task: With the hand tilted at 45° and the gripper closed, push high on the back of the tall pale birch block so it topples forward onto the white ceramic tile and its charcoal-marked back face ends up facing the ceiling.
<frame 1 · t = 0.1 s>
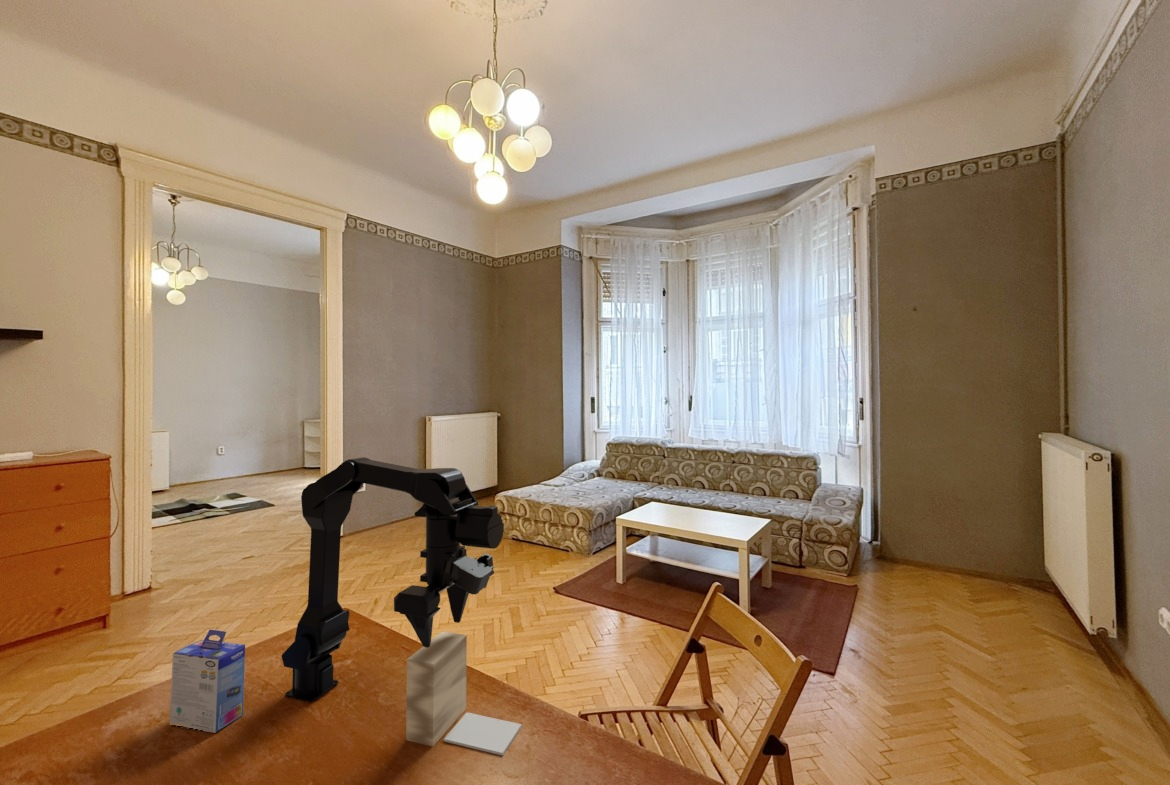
hand: (442, 633, 84), 15 cm above the table, tool pointing down, fingers open, 9 cm apart
white ceramic tile: (483, 733, 80), on the table
birch block: (437, 723, 83), on the table
ink cartridge box: (208, 721, 83), on the table
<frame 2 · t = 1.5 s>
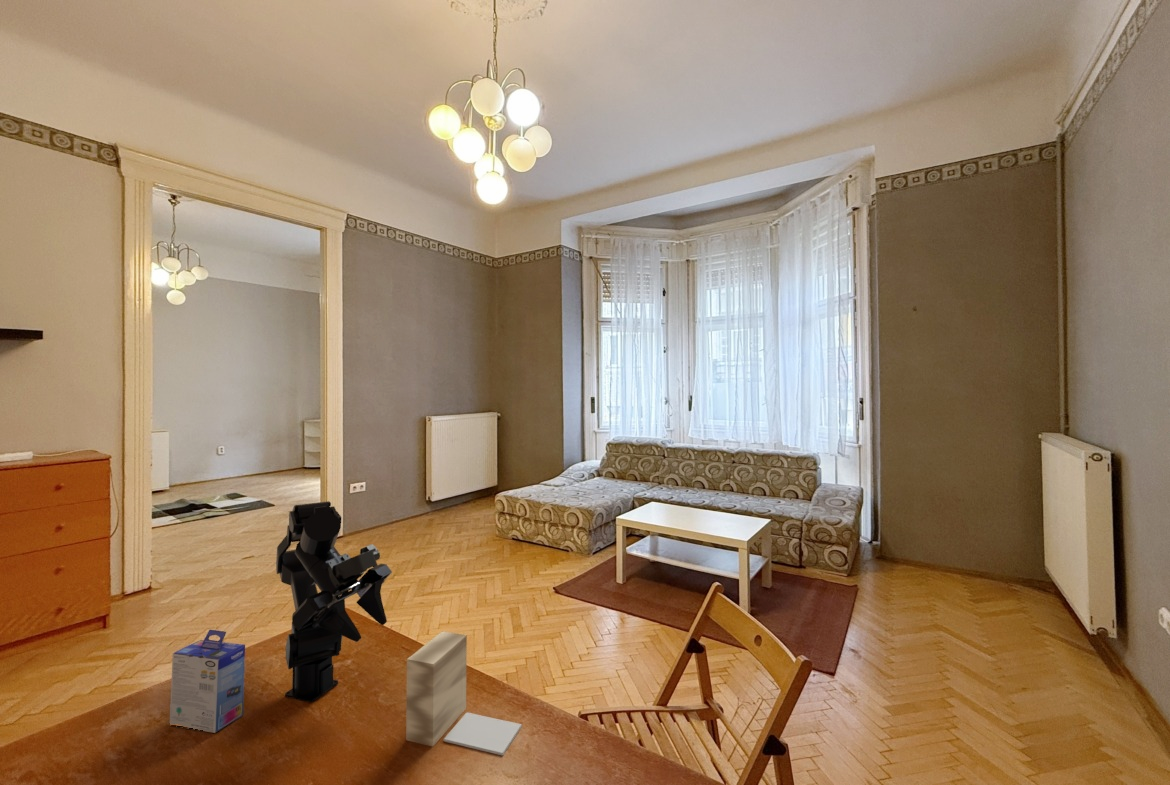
hand: (372, 631, 87), 14 cm above the table, tool tilted 45°, fingers open, 6 cm apart
nothing on the table moved.
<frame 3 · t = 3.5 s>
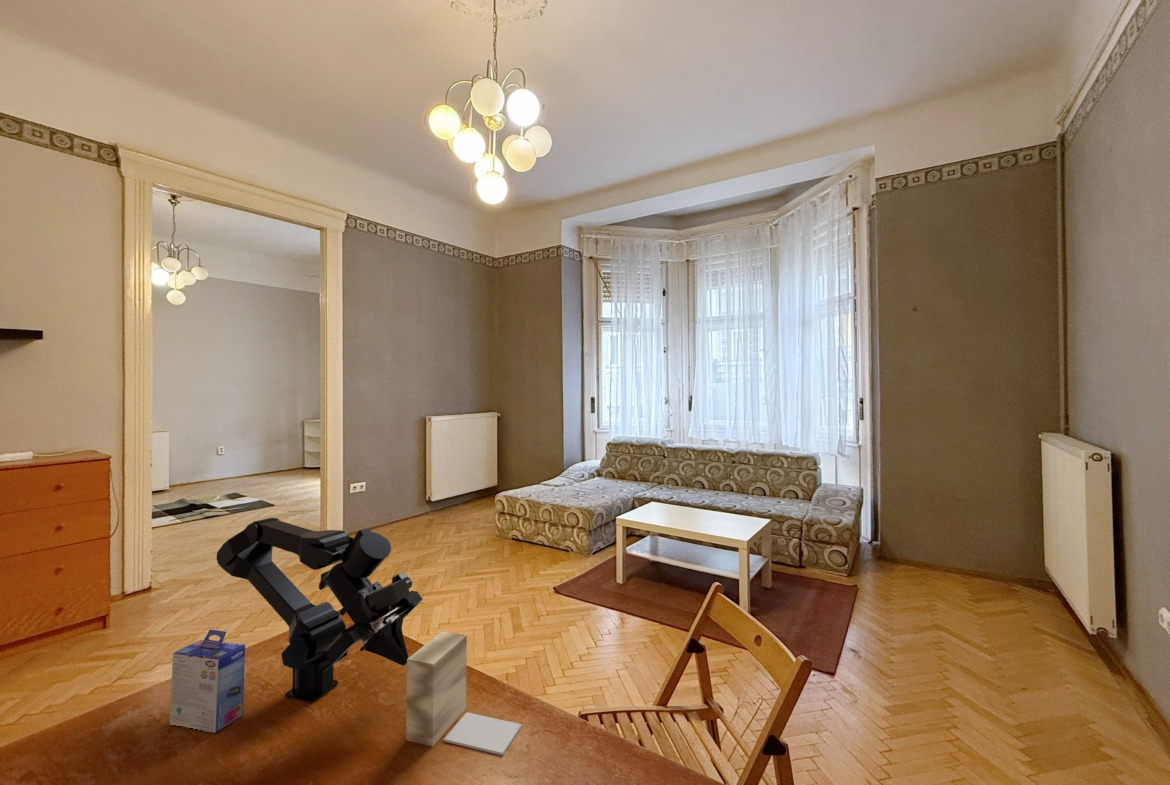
hand: (406, 663, 85), 9 cm above the table, tool tilted 45°, fingers closed
nothing on the table moved.
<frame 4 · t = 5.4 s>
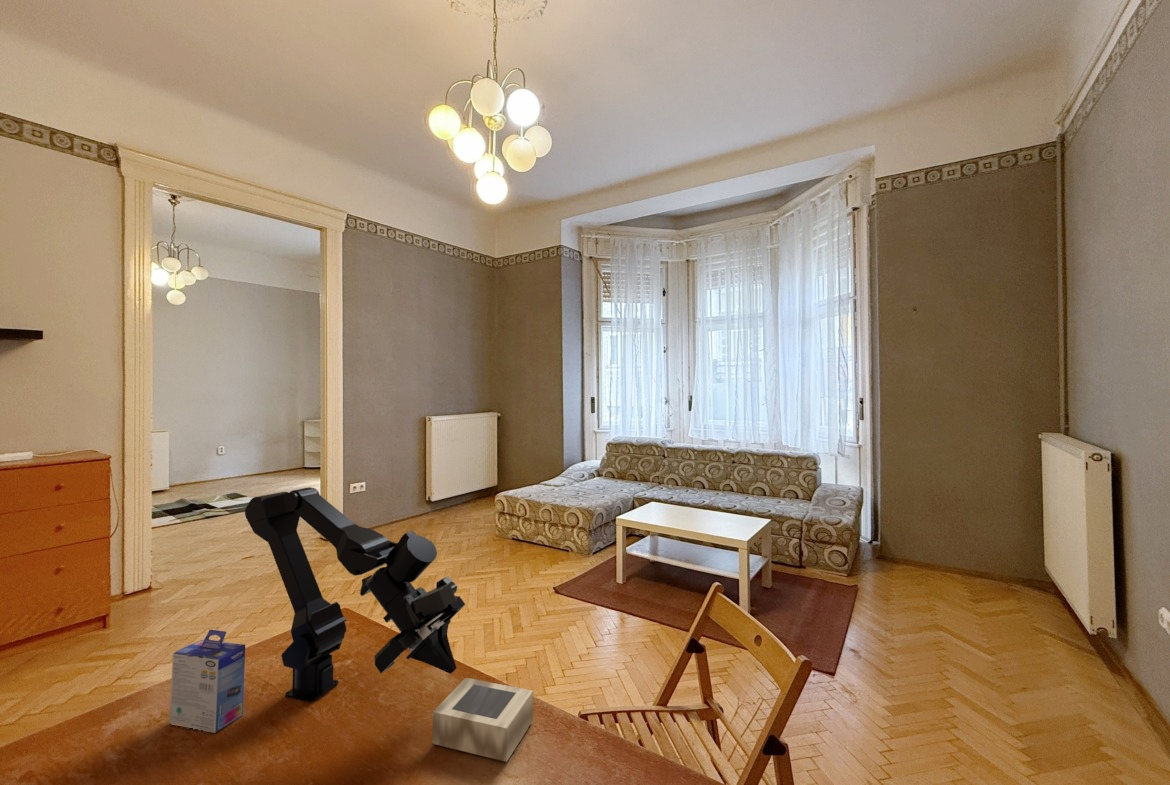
hand: (453, 671, 82), 9 cm above the table, tool tilted 45°, fingers closed
birch block: (450, 708, 82), point 3 cm above the table, tilted 90°, touching white ceramic tile
everything else where it was.
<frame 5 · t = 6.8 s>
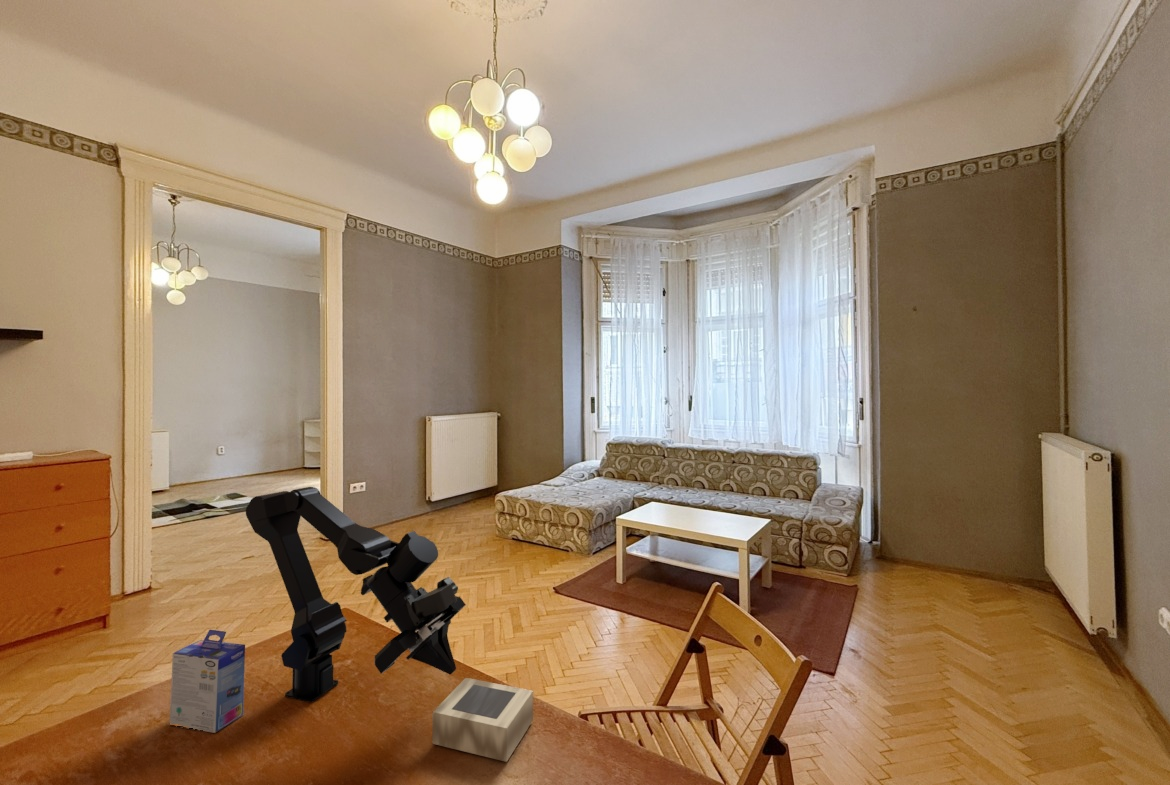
hand: (453, 671, 82), 9 cm above the table, tool tilted 45°, fingers closed
nothing on the table moved.
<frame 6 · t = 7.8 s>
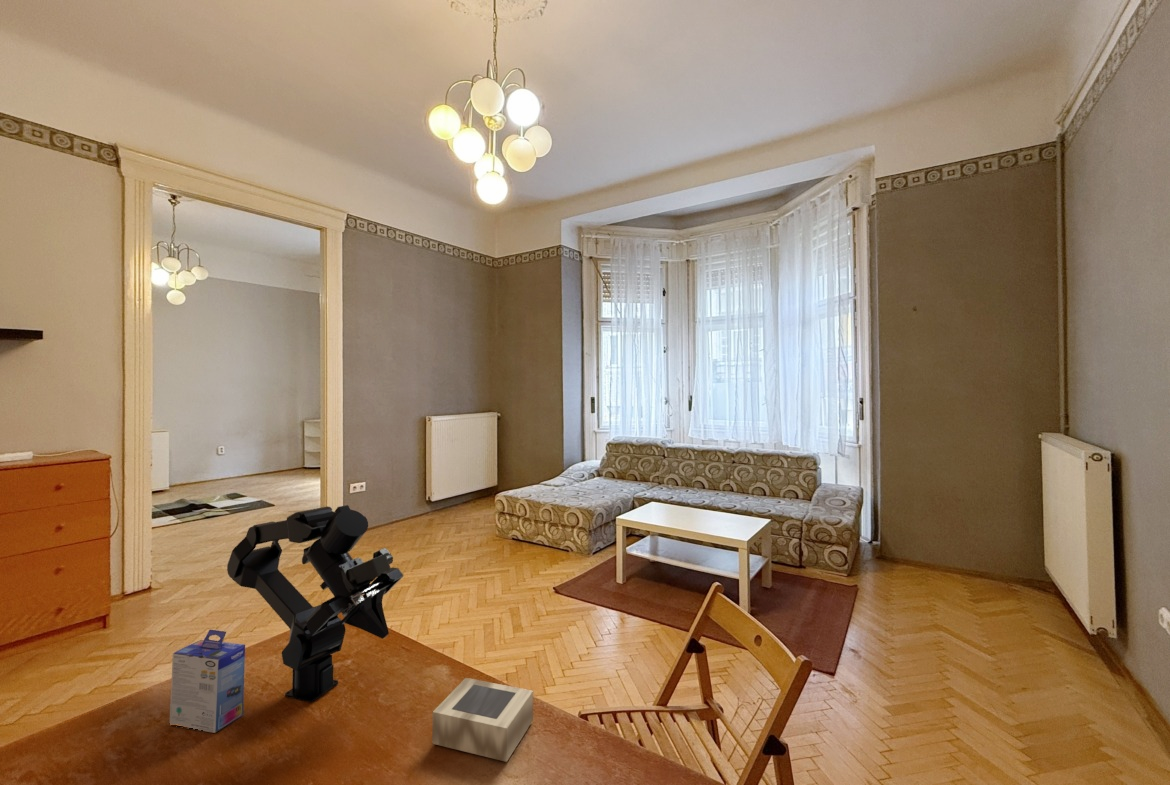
hand: (386, 636, 86), 13 cm above the table, tool tilted 45°, fingers closed
nothing on the table moved.
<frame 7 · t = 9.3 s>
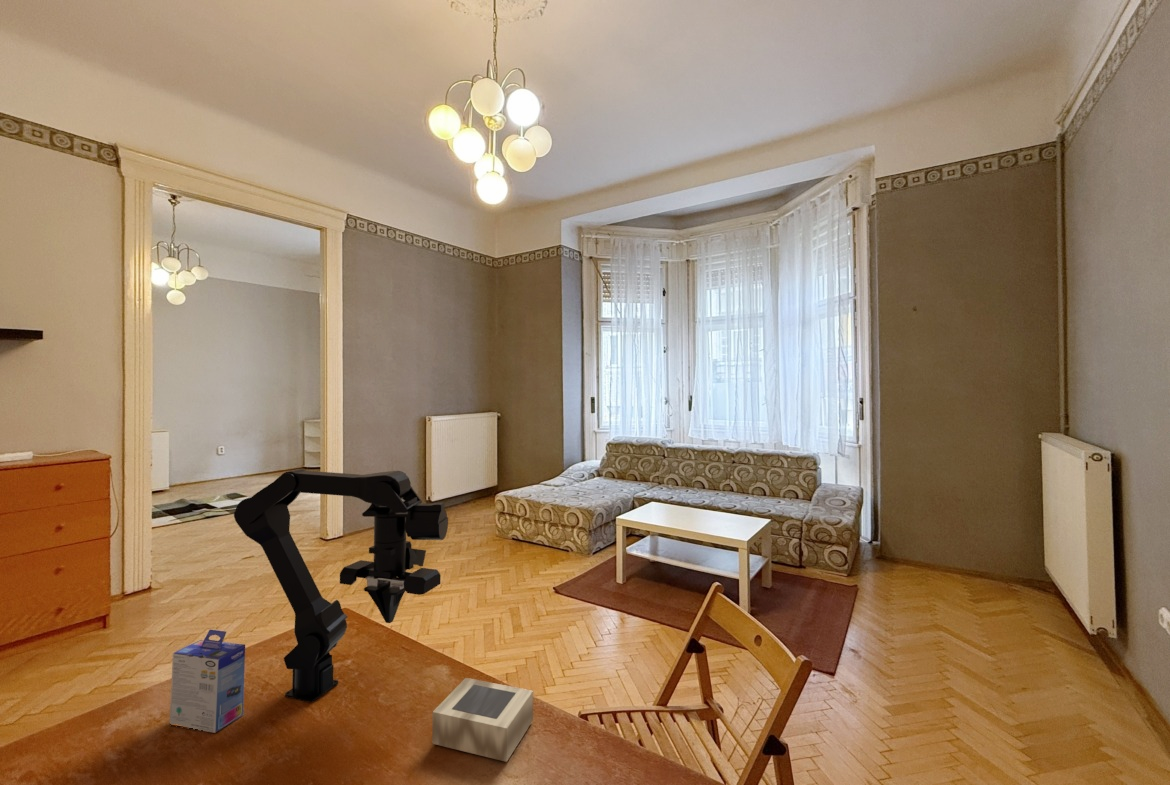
hand: (389, 622, 92), 13 cm above the table, tool pointing down, fingers closed
nothing on the table moved.
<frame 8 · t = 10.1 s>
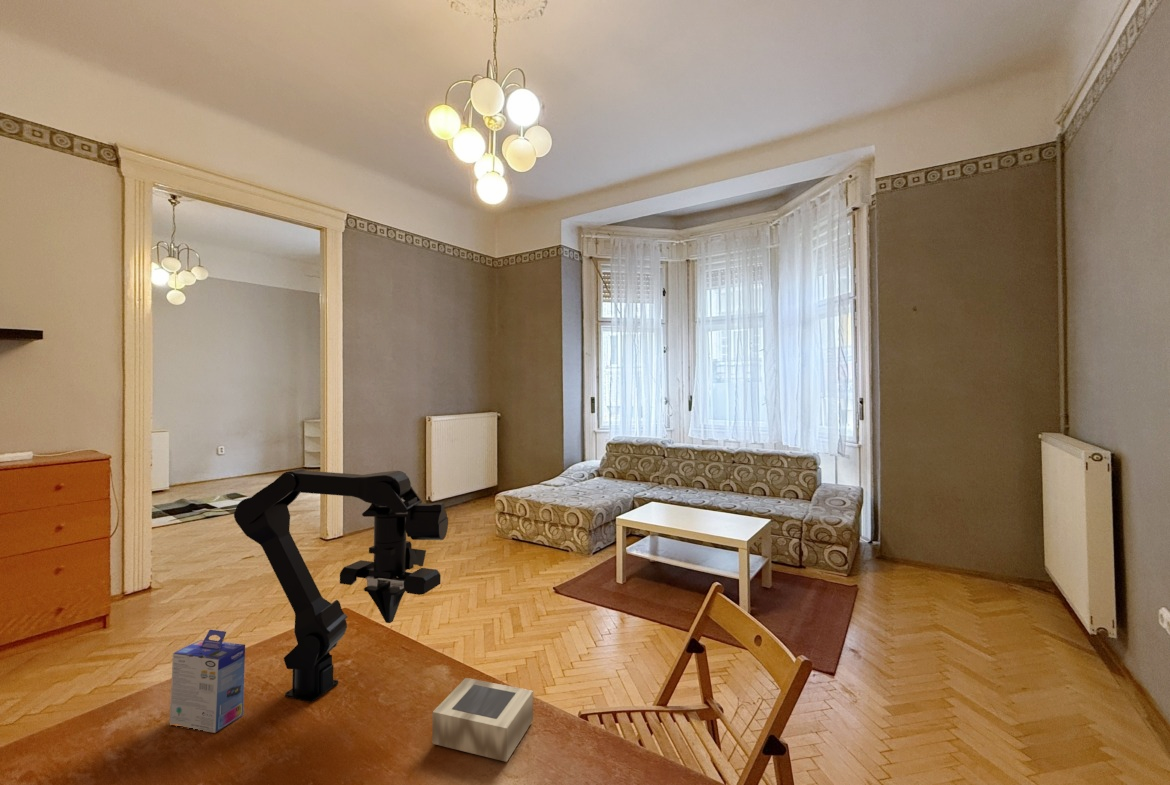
hand: (389, 622, 92), 13 cm above the table, tool pointing down, fingers closed
nothing on the table moved.
at the end: birch block tilted 90°; birch block inside the target area (4.1 cm from its centre), point 2.9 cm above the table; birch block touching white ceramic tile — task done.
